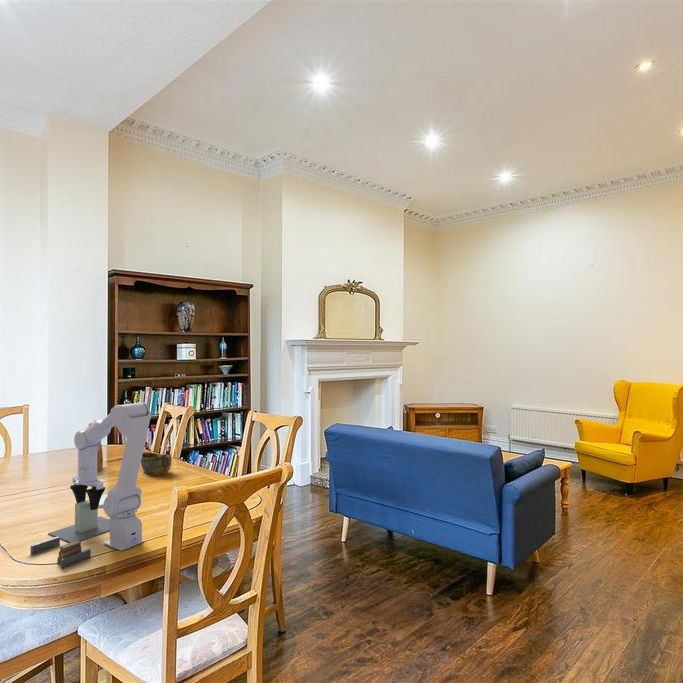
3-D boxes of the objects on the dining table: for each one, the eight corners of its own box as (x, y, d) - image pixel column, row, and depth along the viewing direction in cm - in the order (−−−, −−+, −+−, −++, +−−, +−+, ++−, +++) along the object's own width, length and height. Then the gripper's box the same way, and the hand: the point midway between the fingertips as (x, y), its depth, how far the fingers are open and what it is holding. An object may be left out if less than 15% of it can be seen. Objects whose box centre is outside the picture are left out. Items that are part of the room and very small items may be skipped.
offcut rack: (90, 557, 143) (90, 549, 143) (62, 568, 136) (62, 559, 136) (58, 544, 152) (58, 536, 152) (30, 553, 145) (30, 545, 145)
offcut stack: (82, 557, 143) (83, 541, 143) (62, 565, 138) (62, 548, 138) (78, 555, 144) (78, 539, 144) (57, 563, 139) (57, 546, 139)
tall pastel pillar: (97, 527, 165) (97, 500, 165) (80, 533, 160) (80, 505, 160) (92, 525, 167) (92, 498, 167) (74, 531, 162) (75, 503, 161)
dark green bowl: (142, 480, 221) (142, 457, 221) (139, 469, 239) (140, 449, 239) (172, 477, 226) (172, 455, 226) (167, 467, 244) (168, 446, 244)
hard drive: (93, 496, 195) (95, 505, 184) (116, 493, 199) (119, 501, 189) (93, 500, 195) (95, 509, 184) (116, 497, 199) (119, 506, 189)
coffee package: (78, 474, 230) (78, 427, 230) (81, 467, 242) (81, 422, 242) (101, 471, 234) (102, 425, 234) (103, 465, 245) (103, 421, 245)
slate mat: (124, 525, 168) (124, 524, 168) (72, 544, 152) (72, 542, 152) (100, 517, 175) (100, 516, 175) (48, 534, 160) (48, 533, 160)
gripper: (63, 466, 164) (63, 506, 164) (88, 472, 156) (88, 515, 156) (84, 461, 170) (83, 500, 170) (109, 467, 162) (109, 508, 162)
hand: (87, 507), depth 164 cm, fingers open, 7 cm apart
